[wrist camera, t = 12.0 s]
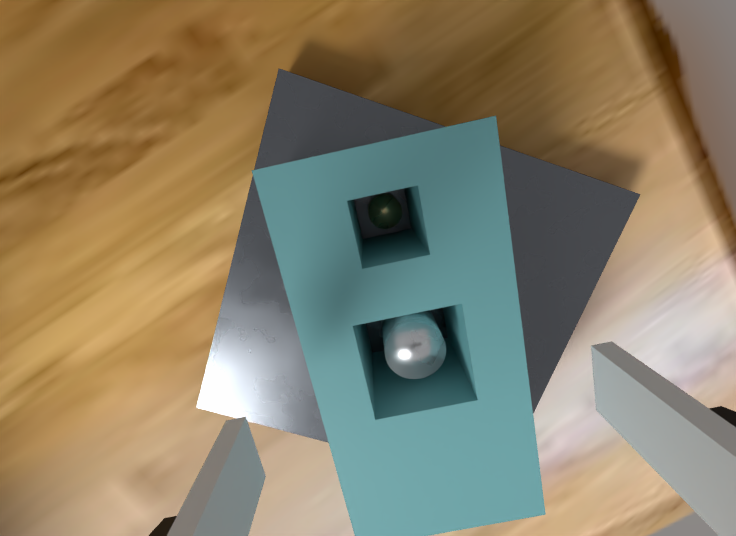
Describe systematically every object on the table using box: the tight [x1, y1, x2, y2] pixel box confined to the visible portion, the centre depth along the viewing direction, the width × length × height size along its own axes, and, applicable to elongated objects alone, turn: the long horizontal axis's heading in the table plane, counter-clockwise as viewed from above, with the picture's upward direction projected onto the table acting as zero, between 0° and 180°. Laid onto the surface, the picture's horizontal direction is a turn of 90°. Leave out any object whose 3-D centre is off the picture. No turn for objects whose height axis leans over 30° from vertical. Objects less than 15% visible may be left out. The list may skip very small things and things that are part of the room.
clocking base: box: [197, 69, 640, 443], centre depth 23 cm, size 22×22×8 cm
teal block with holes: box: [252, 116, 545, 536], centre depth 22 cm, size 20×10×7 cm, turn 12°
